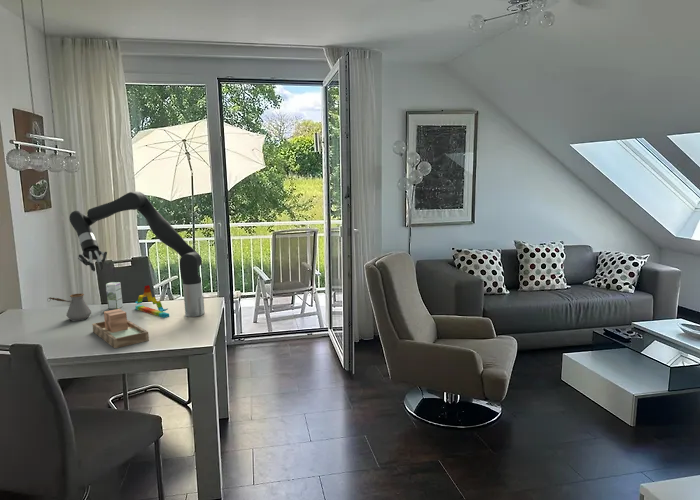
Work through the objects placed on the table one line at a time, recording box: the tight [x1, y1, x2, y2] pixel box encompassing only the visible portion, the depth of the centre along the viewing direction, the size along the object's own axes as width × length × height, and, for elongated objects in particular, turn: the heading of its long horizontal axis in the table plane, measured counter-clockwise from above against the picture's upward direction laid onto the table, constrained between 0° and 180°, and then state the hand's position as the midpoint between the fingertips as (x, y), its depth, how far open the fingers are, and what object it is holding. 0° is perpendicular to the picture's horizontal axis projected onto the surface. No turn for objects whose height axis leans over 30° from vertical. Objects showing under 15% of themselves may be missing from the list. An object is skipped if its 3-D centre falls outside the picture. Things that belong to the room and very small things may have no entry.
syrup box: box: [105, 281, 124, 310], centre depth 279 cm, size 6×6×14 cm
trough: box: [91, 319, 150, 349], centre depth 228 cm, size 33×14×4 cm, turn 42°
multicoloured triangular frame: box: [134, 285, 170, 319], centre depth 267 cm, size 30×3×15 cm, turn 50°
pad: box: [110, 328, 140, 338], centre depth 224 cm, size 10×12×2 cm
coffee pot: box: [47, 293, 92, 322], centre depth 254 cm, size 21×12×15 cm, turn 156°
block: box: [103, 308, 128, 333], centre depth 230 cm, size 10×7×8 cm
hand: (97, 269), depth 243 cm, fingers closed
